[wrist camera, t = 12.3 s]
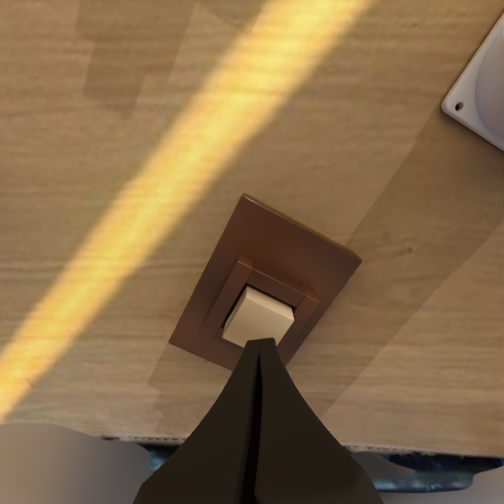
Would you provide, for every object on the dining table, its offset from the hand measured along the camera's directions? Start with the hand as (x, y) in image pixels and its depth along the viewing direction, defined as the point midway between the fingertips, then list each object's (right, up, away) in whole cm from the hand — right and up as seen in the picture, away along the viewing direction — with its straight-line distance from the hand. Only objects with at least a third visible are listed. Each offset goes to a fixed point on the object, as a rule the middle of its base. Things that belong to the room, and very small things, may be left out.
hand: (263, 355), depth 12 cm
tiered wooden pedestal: (0, +2, +9) cm, 9 cm away
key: (0, 0, +6) cm, 6 cm away
